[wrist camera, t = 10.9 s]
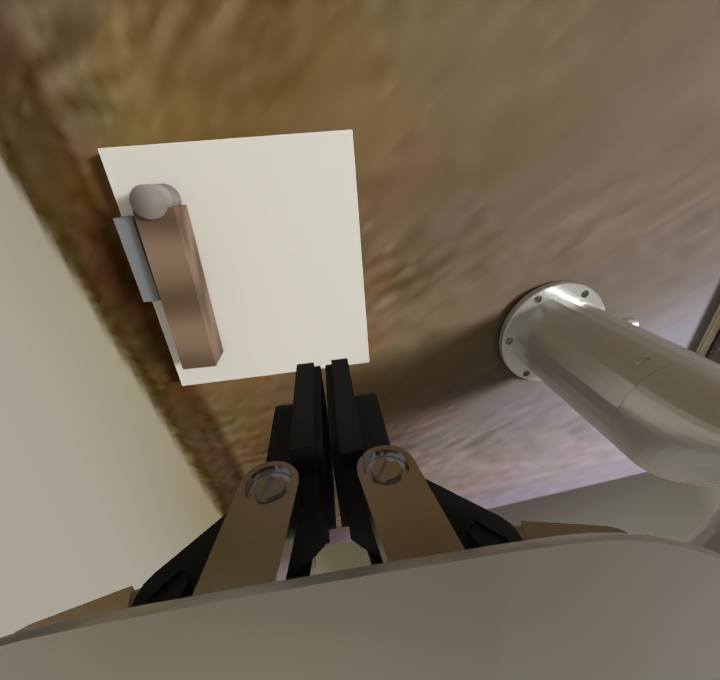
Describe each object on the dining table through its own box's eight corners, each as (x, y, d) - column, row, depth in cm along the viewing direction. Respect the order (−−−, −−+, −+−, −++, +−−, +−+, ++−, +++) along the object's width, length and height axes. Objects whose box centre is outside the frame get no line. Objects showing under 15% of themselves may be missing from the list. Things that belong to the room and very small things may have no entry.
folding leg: (142, 184, 28) (120, 185, 25) (180, 182, 28) (163, 183, 25) (192, 354, 35) (180, 373, 32) (223, 351, 35) (214, 369, 32)
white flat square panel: (350, 132, 30) (354, 126, 26) (366, 353, 40) (372, 371, 36) (110, 150, 29) (81, 146, 25) (188, 376, 38) (175, 396, 35)
